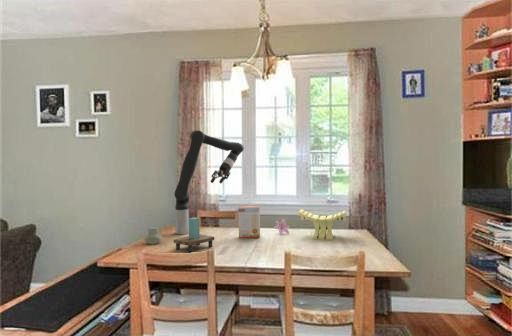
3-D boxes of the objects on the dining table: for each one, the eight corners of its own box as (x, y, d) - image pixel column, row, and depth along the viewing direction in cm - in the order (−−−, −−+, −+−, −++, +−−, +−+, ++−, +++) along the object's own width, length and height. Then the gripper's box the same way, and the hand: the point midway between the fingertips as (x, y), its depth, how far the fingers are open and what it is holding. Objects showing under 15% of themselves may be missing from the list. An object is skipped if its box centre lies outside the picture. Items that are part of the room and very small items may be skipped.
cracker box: (260, 236, 276) (259, 205, 275) (259, 238, 270) (259, 207, 269) (239, 236, 277) (239, 205, 277) (238, 238, 271) (238, 207, 271)
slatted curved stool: (346, 235, 276) (345, 209, 275) (344, 240, 260) (344, 212, 260) (302, 233, 283) (302, 208, 283) (298, 238, 268) (298, 211, 267)
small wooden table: (173, 249, 240) (173, 239, 240) (198, 243, 256) (198, 234, 256) (189, 252, 231) (189, 242, 231) (214, 246, 247) (214, 236, 247)
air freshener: (143, 245, 253) (143, 229, 253) (145, 242, 261) (145, 227, 261) (161, 244, 255) (161, 228, 254) (162, 241, 263) (162, 226, 263)
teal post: (188, 238, 243) (188, 218, 243) (194, 237, 247) (194, 217, 246) (193, 239, 240) (193, 219, 240) (199, 237, 244) (199, 218, 243)
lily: (270, 235, 282) (274, 225, 278) (272, 226, 293) (276, 216, 289) (287, 241, 282) (291, 230, 278) (287, 231, 293) (292, 220, 289)
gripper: (217, 162, 293) (205, 178, 284) (231, 162, 284) (220, 179, 275) (222, 169, 297) (211, 185, 289) (236, 169, 288) (225, 186, 279)
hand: (215, 182), depth 282 cm, fingers open, 8 cm apart
